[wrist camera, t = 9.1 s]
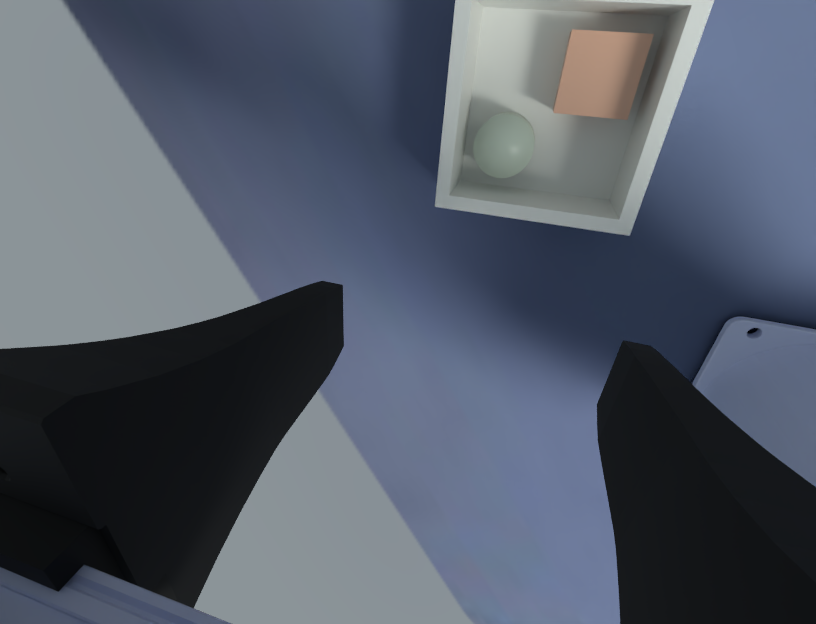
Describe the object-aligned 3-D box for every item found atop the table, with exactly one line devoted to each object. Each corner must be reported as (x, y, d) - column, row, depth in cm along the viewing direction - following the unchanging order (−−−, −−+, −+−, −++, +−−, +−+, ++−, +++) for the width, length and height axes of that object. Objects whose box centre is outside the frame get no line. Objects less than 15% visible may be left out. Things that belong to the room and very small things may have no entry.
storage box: (688, -2, 13) (720, -18, 11) (617, 211, 17) (629, 235, 14) (472, -10, 15) (457, -26, 12) (449, 188, 18) (434, 206, 16)
